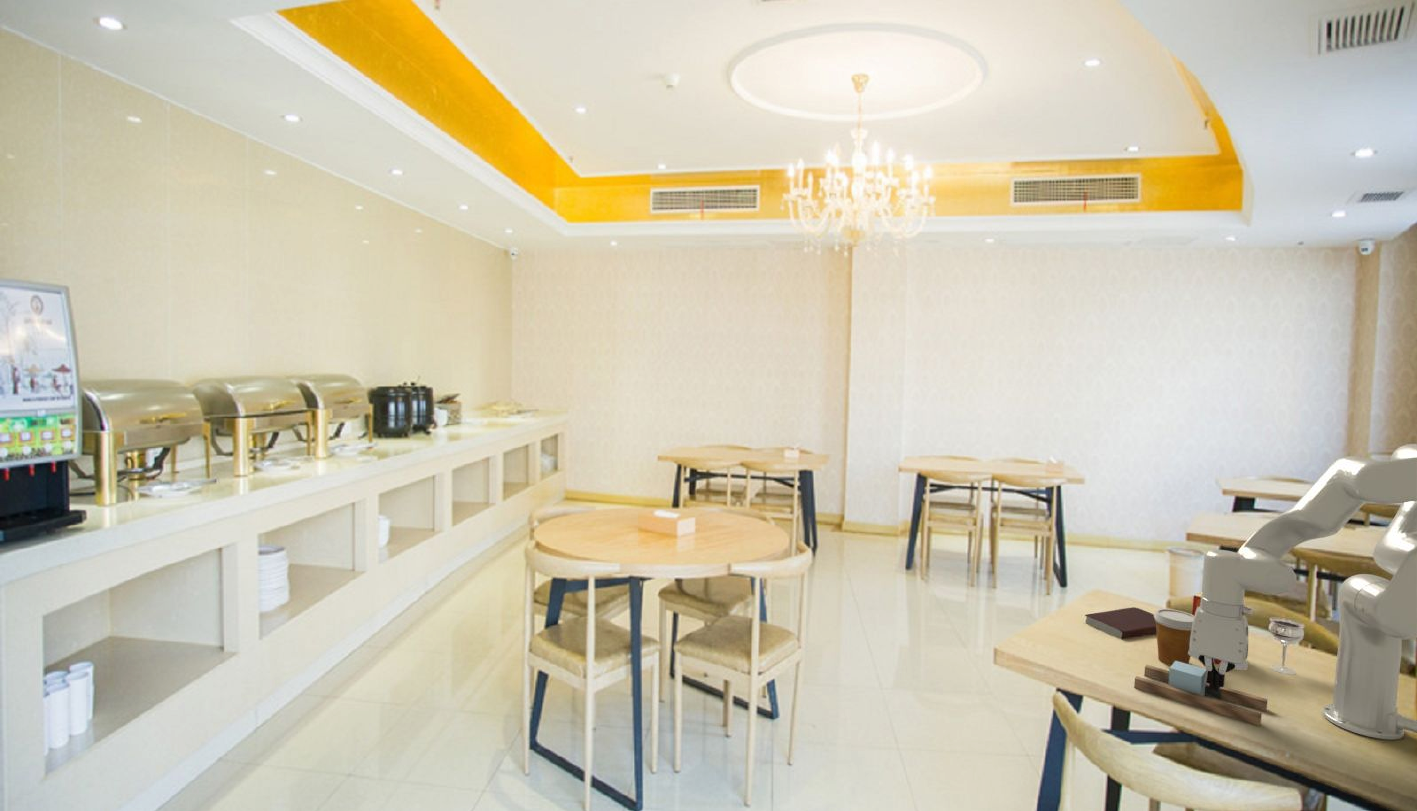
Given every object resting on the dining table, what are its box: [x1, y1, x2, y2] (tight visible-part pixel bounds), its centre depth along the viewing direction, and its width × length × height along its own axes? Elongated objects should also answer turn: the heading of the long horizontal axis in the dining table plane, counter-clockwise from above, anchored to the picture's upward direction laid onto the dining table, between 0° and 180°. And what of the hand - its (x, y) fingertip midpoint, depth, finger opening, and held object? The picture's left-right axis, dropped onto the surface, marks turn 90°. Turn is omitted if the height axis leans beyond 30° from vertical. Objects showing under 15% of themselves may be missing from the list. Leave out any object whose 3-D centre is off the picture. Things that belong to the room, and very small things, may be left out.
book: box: [1084, 606, 1157, 640], centre depth 199 cm, size 12×19×3 cm, turn 110°
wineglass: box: [1268, 616, 1305, 675], centre depth 173 cm, size 7×7×12 cm
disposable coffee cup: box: [1154, 608, 1194, 667], centre depth 176 cm, size 10×10×12 cm
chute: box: [1133, 664, 1269, 727], centre depth 158 cm, size 23×10×2 cm, turn 45°
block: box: [1167, 661, 1207, 696], centre depth 160 cm, size 6×6×6 cm
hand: (1214, 687), depth 156 cm, fingers closed
